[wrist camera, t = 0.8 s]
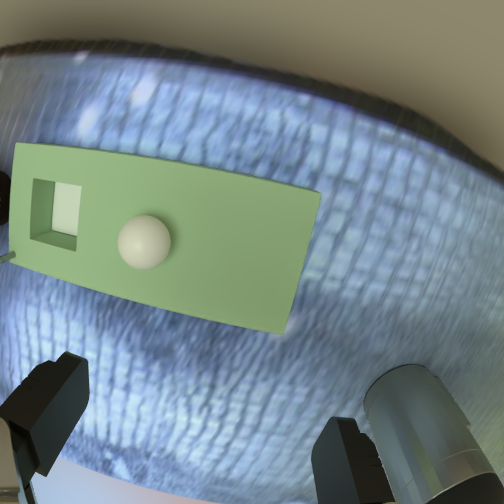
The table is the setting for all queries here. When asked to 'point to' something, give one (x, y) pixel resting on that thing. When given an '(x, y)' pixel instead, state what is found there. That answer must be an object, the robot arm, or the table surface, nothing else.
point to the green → (176, 221)
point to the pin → (7, 257)
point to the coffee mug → (4, 197)
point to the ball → (144, 242)
